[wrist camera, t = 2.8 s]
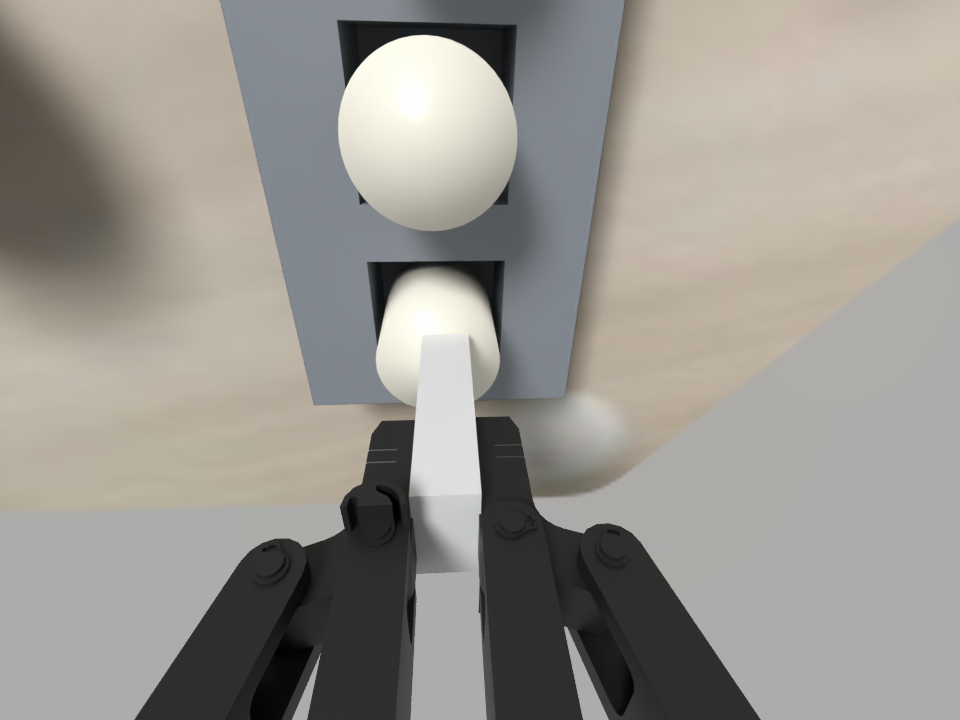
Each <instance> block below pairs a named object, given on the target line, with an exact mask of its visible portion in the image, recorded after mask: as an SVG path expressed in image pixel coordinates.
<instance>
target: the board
mask: <svg viewBox="0 0 960 720" xmlns="http://www.w3.org/2000/svg"><path fill="white" fill-rule="evenodd" d="M220 3H221V7H222V12H223V16H224V20H225V24H226V29H227V33H228V37H229V42H230V46H231V50H232V55H233V59H234V63H235V67H236V72H237V76H238V80H239V85H240V89H241V93H242V98H243V102H244V106H245V111H246V115H247V119H248V123H249V128H250V132H251V136H252V141H253V145H254V149H255V154H256V158H257V162H258V167H259V171H260V175H261V179H262V184H263V188H264V192H265V197H266V201H267V205H268V210H269V214H270V218H271V222H272V227H273V231H274V235H275V240H276V244H277V248H278V253H279V257H280V261H281V266H282V270H283V274H284V278H285V283H286V287H287V291H288V296H289V300H290V304H291V309H292V313H293V317H294V322H295V326H296V330H297V334H298V339H299V343H300V347H301V352H302V356H303V360H304V365H305V369H306V373H307V377H308V382H309V386H310V390H311V395H312V399H313V403H314V405H345V404H377V403H404V402H402V401H401V400H399V399H397V398H396V397H395V396H394V395H392V394H391V393H390V392H389V391H388V390H387V388H386V387H385V386H384V384H383V383H382V381H381V379H380V377H379V374H378V372H377V367H376V351H377V347H378V342H379V337H380V332H381V328H382V323H383V318H384V314H385V309H386V304H387V299H388V295H389V291H390V287H391V285H392V282H393V280H394V279H395V277H396V276H397V275H398V273H399V272H400V271H401V270H402V269H403V268H404V267H406V266H407V265H409V264H410V263H412V262H414V261H462V262H464V263H465V264H467V265H469V266H470V267H471V268H472V269H474V270H475V271H476V272H477V274H478V275H479V276H480V277H481V279H482V280H483V282H484V284H485V287H486V289H487V293H488V298H489V303H490V308H491V313H492V318H493V323H494V328H495V333H496V338H497V343H498V348H499V354H500V365H499V370H498V374H497V376H496V379H495V381H494V382H493V384H492V385H491V387H490V388H489V389H488V390H487V392H486V393H484V394H483V395H482V396H481V397H480V398H478V399H477V400H506V399H538V398H564V396H565V389H566V383H567V376H568V370H569V363H570V357H571V350H572V344H573V337H574V330H575V324H576V317H577V311H578V304H579V298H580V291H581V285H582V278H583V271H584V265H585V258H586V252H587V245H588V239H589V232H590V226H591V219H592V212H593V206H594V199H595V193H596V186H597V180H598V173H599V166H600V160H601V153H602V147H603V140H604V134H605V127H606V121H607V114H608V107H609V101H610V94H611V88H612V81H613V75H614V68H615V62H616V55H617V48H618V42H619V35H620V29H621V22H622V16H623V9H624V3H625V0H220ZM416 35H430V36H439V37H443V38H446V39H450V40H453V41H455V42H457V43H460V44H462V45H464V46H466V47H467V48H469V49H470V50H472V51H474V52H475V53H476V54H477V55H479V56H480V57H481V58H482V59H483V60H485V61H486V62H487V64H488V65H489V66H490V67H491V68H492V69H493V70H494V71H495V73H496V74H497V76H498V77H499V79H500V80H501V81H502V83H503V85H504V87H505V89H506V91H507V93H508V95H509V98H510V100H511V103H512V106H513V109H514V114H515V118H516V125H517V152H516V158H515V162H514V167H513V170H512V173H511V175H510V178H509V180H508V182H507V184H506V186H505V188H504V190H503V191H502V193H501V194H500V196H499V197H498V199H497V200H496V201H495V202H494V203H493V204H492V206H491V207H490V208H489V209H487V210H486V211H485V212H484V213H483V214H482V215H480V216H479V217H477V218H476V219H474V220H473V221H471V222H469V223H467V224H465V225H462V226H459V227H456V228H453V229H448V230H443V231H422V230H416V229H411V228H408V227H405V226H402V225H400V224H397V223H395V222H393V221H391V220H389V219H388V218H386V217H385V216H383V215H381V214H380V213H379V212H378V211H376V210H375V209H374V208H373V207H372V206H371V205H370V204H369V203H368V202H367V201H366V200H365V199H364V198H363V197H362V195H361V194H360V193H359V191H358V190H357V189H356V187H355V185H354V184H353V182H352V180H351V179H350V177H349V174H348V172H347V170H346V168H345V165H344V162H343V159H342V156H341V151H340V146H339V137H338V117H339V111H340V105H341V101H342V98H343V95H344V92H345V89H346V87H347V85H348V83H349V81H350V79H351V77H352V76H353V74H354V73H355V71H356V70H357V68H358V67H359V66H360V65H361V64H362V62H363V61H364V60H365V59H366V58H367V57H368V56H369V55H371V54H372V53H373V52H374V51H376V50H377V49H379V48H380V47H382V46H384V45H385V44H387V43H389V42H392V41H394V40H397V39H399V38H404V37H408V36H416Z"/></svg>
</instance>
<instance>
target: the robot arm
mask: <svg viewBox="0 0 960 720" xmlns="http://www.w3.org/2000/svg"><path fill="white" fill-rule="evenodd" d="M340 509H341V514H342V518H343V523H344V527H345V529H344V530H342V531H341V532H340V533H338V534H336V535H335V536H333V537H331V538H328V539H326V540H324V541H320V542H317V543H315V544H311V545H308V546H305V547H302V546H301V545H300V544H299V543H298V542H296V541H293V540H291V539H274V540H270V541H267V542H264V543H262V544H260V545H259V546H257V547H256V548H254V549H252V550H251V551H250V552H249V553H248V554H247V555H246V556H245V557H244V558H243V559H242V560H241V562H240V563H239V565H238V566H237V567H236V569H235V570H234V572H233V573H232V575H231V576H230V578H229V579H228V581H227V582H226V584H225V585H224V587H223V588H222V590H221V591H220V593H219V594H218V596H217V597H216V599H215V600H214V602H213V604H212V605H211V606H210V608H209V609H208V611H207V612H206V614H205V615H204V617H203V618H202V620H201V621H200V623H199V624H198V626H197V627H196V629H195V630H194V632H193V633H192V635H191V636H190V638H189V639H188V641H187V642H186V644H185V645H184V647H183V648H182V650H181V651H180V653H179V654H178V655H177V657H176V658H175V660H174V662H173V663H172V664H171V666H170V667H169V669H168V671H167V672H166V674H165V675H164V677H163V678H162V679H161V681H160V682H159V684H158V686H157V687H156V688H155V690H154V691H153V693H152V694H151V696H150V697H149V699H148V700H147V702H146V703H145V705H144V706H143V708H142V709H141V711H140V712H139V714H138V715H137V717H136V719H135V720H292V718H293V715H294V713H295V711H296V709H297V706H298V704H299V701H300V699H301V697H302V694H303V692H304V690H305V687H306V685H307V683H308V681H309V678H310V676H311V673H312V671H313V669H314V667H315V664H316V662H317V660H318V657H319V655H320V653H321V655H320V660H319V666H318V670H317V675H316V680H315V685H314V689H313V694H312V699H311V705H310V709H309V714H308V719H307V720H410V715H411V696H412V676H413V657H414V636H415V617H416V591H415V590H416V589H415V580H416V573H417V574H422V573H423V574H424V573H444V572H465V571H479V578H480V589H479V613H480V614H481V631H482V647H483V665H484V681H485V697H486V713H487V720H583V718H582V713H581V708H580V703H579V699H578V694H577V689H576V684H575V679H574V674H573V670H572V665H571V660H570V655H569V650H568V645H567V640H566V635H565V630H564V626H566V627H567V628H568V630H569V632H570V634H571V636H572V638H573V641H574V643H575V645H576V647H577V650H578V652H579V654H580V656H581V658H582V661H583V663H584V665H585V668H586V670H587V672H588V674H589V676H590V679H591V681H592V683H593V685H594V688H595V690H596V692H597V694H598V696H599V699H600V701H601V703H602V705H603V708H604V710H605V712H606V714H607V716H608V718H609V720H760V718H759V717H758V715H757V714H756V712H755V711H754V709H753V708H752V706H751V705H750V703H749V702H748V700H747V699H746V697H745V696H744V694H743V693H742V692H741V690H740V689H739V687H738V686H737V684H736V683H735V681H734V680H733V678H732V677H731V676H730V674H729V672H728V671H727V669H726V668H725V667H724V665H723V664H722V662H721V661H720V659H719V658H718V656H717V655H716V653H715V652H714V650H713V649H712V647H711V646H710V644H709V643H708V641H707V640H706V638H705V637H704V635H703V634H702V632H701V631H700V630H699V628H698V627H697V625H696V624H695V622H694V621H693V619H692V618H691V616H690V615H689V613H688V612H687V611H686V609H685V607H684V606H683V604H682V603H681V601H680V600H679V599H678V597H677V596H676V594H675V593H674V591H673V590H672V588H671V587H670V585H669V584H668V582H667V581H666V579H665V578H664V576H663V575H662V573H661V572H660V571H659V569H658V568H657V566H656V565H655V563H654V562H653V560H652V559H651V557H650V556H649V554H648V553H647V551H646V550H645V549H644V547H643V545H642V544H641V542H640V541H639V540H638V539H637V538H636V537H635V536H634V535H633V534H632V533H631V532H629V531H627V530H625V529H624V528H622V527H620V526H616V525H612V524H596V525H594V526H592V527H590V528H588V529H587V530H586V531H585V533H584V534H583V533H579V532H575V531H571V530H567V529H563V528H561V527H558V526H555V525H553V524H552V523H550V522H548V521H547V520H546V519H544V518H543V517H542V516H541V515H540V514H539V512H538V511H537V509H536V508H535V505H534V502H533V499H532V494H531V489H530V484H529V478H528V473H527V468H526V463H525V458H524V453H523V448H522V443H521V438H520V433H519V428H518V427H517V426H516V425H515V423H514V422H513V421H512V420H511V418H510V417H475V408H474V396H473V384H472V371H471V359H470V347H469V335H468V334H429V335H422V344H421V356H420V368H419V380H418V392H417V404H416V416H415V420H402V421H382V422H381V423H380V424H379V426H378V427H377V428H376V429H375V431H374V432H373V433H372V436H371V441H370V446H369V452H368V457H367V464H366V467H365V472H364V477H363V482H362V484H361V485H359V486H357V487H355V488H353V489H352V490H351V491H350V492H349V493H348V494H347V495H346V496H345V497H344V499H343V501H342V503H341V506H340Z"/></svg>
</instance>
